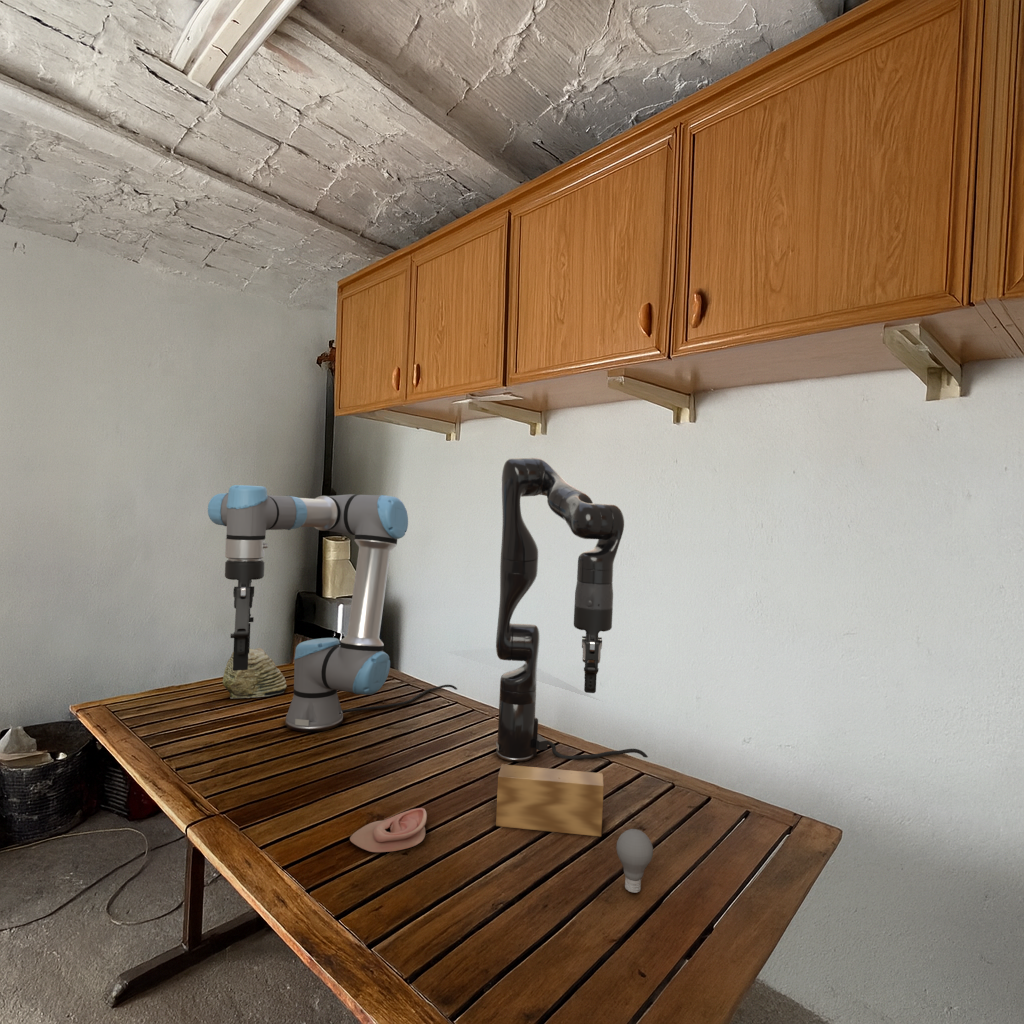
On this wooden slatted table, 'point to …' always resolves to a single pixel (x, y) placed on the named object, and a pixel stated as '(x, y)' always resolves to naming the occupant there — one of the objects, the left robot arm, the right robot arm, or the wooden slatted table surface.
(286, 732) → the wooden slatted table surface
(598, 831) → the box
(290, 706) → the left robot arm
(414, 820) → the anatomical model
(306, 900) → the wooden slatted table surface
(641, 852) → the light bulb
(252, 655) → the fossil
